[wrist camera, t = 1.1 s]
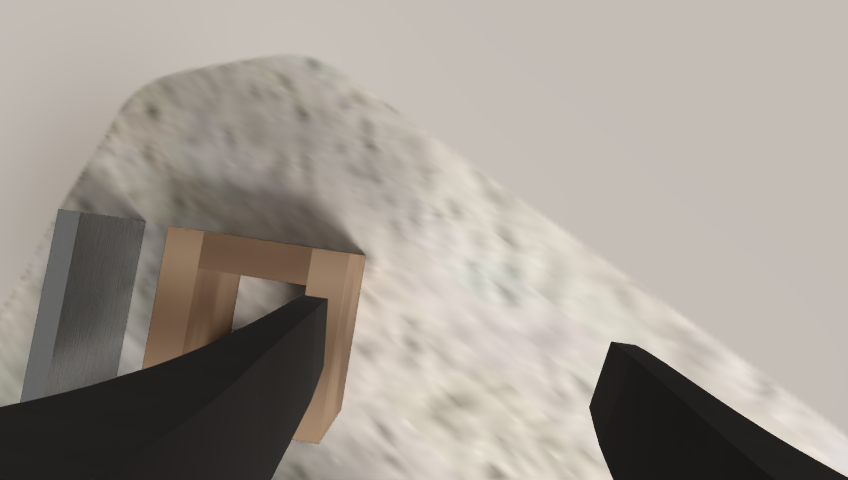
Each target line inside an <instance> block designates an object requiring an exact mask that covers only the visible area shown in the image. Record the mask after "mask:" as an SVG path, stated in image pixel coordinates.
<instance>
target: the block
mask: <svg viewBox="0 0 848 480" xmlns="http://www.w3.org/2000/svg"><path fill="white" fill-rule="evenodd" d="M365 258H366V255H359V254H353V253H346V252H340V251H333V250H327V249H320V248H314V247H308V246H301V245H295V244H288V243H282V242H275V241H269V240H262V239H256V238H249V237H243V236H236V235H230V234H223V233H217V232H209V231H202V230H195V229H187V228H180V227H172V226H168V231H167V237H166V242H165V247H164V253H163V258H162V264H161V269H160V274H159V280H158V285H157V291H156V296H155V301H154V307H153V312H152V318H151V323H150V328H149V334H148V339H147V345H146V350H145V355H144V361H143V366H142V369H146V368H149V367H152V366H154V365H157V364H160V363H163V362H165V361H168V360H171V359H173V358H176V357H179V356H181V355H184V354H186V353H189V352H191V351H194V350H196V349H198V348H201V347H203V346H205V345H208V344H210V343H212V342H214V341H216V340H218V339H220V338H222V337H224V336H226V335H229V334H230V332H231V326H232V320H233V315H234V309H235V303H236V298H237V292H238V286H239V280H240V275H244V276H250V277H256V278H263V279H269V280H275V281H281V282H288V283H294V284H300V285H307V286H306V292H305V295H307V296H314V297H320V298H327V299H328V309H327V324H326V340H325V355H324V367H323V370H322V373H321V376H320V378H319V381H318V384H317V387H316V389H315V392H314V395H313V397H312V400H311V402H310V404H309V406H308V408H307V410H306V412H305V414H304V416H303V418H302V420H301V422H300V424H299V426H298V428H297V430H296V432H295V434H294V436H293V438H292V440H298V441H304V442H309V443H315V444H319V443H320V441H321V440H322V438H323V436H324V435H325V433H326V432H327V430H328V429H329V427H330V426H331V424H332V423H333V421H334V420H335V418H336V417H337V415H338V413H339V412H340V410H341V407H342V400H343V394H344V388H345V382H346V376H347V369H348V363H349V357H350V351H351V345H352V338H353V332H354V326H355V320H356V314H357V307H358V301H359V295H360V289H361V282H362V276H363V270H364V264H365Z"/></svg>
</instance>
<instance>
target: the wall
mask: <svg viewBox="0 0 848 480" xmlns="http://www.w3.org/2000/svg"><path fill="white" fill-rule="evenodd" d="M144 227H145V221H139V220H133V219H126V218H119V217H112V216H105V215H98V214H91V213H84V212H77V211H70V210H62V209H58V214H57V220H56V225H55V230H54V235H53V240H52V245H51V250H50V255H49V260H48V265H47V270H46V275H45V280H44V285H43V290H42V295H41V300H40V305H39V310H38V315H37V320H36V325H35V330H34V335H33V340H32V345H31V350H30V355H29V360H28V365H27V370H26V375H25V380H24V385H23V390H22V395H21V400H20V403H21V402H26V401H30V400H34V399H39V398H43V397H47V396H51V395H56V394H60V393H63V392H67V391H71V390H75V389H79V388H83V387H87V386H90V385H94V384H97V383H100V382H104V381H107V380H110V379H113V378H116V375H117V370H118V365H119V359H120V354H121V349H122V344H123V338H124V333H125V328H126V322H127V317H128V312H129V306H130V301H131V296H132V290H133V285H134V280H135V274H136V269H137V264H138V259H139V253H140V248H141V243H142V237H143V232H144Z"/></svg>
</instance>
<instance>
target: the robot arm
mask: <svg viewBox="0 0 848 480" xmlns="http://www.w3.org/2000/svg"><path fill="white" fill-rule="evenodd" d="M327 309H328V299H327V298H320V297H314V296H307V295H304V296H302V297H299V298H297V299H295V300H293V301H292V302H290V303H288V304H286V305H284V306H282V307H281V308H279V309H277V310H275V311H273V312H272V313H270V314H268V315H266V316H264V317H262V318H260V319H258V320H257V321H255V322H253V323H251V324H249V325H247V326H245V327H243V328H241V329H239V330H237V331H235V332H233V333H231V334H229V335H226V336H224V337H222V338H220V339H218V340H216V341H214V342H212V343H210V344H208V345H205V346H203V347H201V348H198V349H196V350H194V351H191V352H189V353H186V354H184V355H181V356H179V357H176V358H173V359H171V360H168V361H165V362H163V363H160V364H157V365H154V366H152V367H149V368H146V369H142V370H139V371H136V372H133V373H129V374H126V375H123V376H120V377H117V378H113V379H110V380H107V381H104V382H100V383H97V384H94V385H90V386H87V387H83V388H79V389H75V390H71V391H67V392H63V393H60V394H56V395H51V396H47V397H43V398H39V399H34V400H30V401H26V402H21V403H17V404H12V405H8V406H3V407H0V480H271V478H272V476H273V475H274V473H275V471H276V469H277V467H278V465H279V463H280V461H281V459H282V457H283V455H284V453H285V451H286V449H287V447H288V446H289V444H290V442H291V440H292V438H293V436H294V434H295V432H296V430H297V428H298V426H299V424H300V422H301V420H302V418H303V416H304V414H305V412H306V410H307V408H308V406H309V404H310V402H311V400H312V397H313V395H314V392H315V389H316V387H317V384H318V381H319V378H320V376H321V373H322V370H323V367H324V355H325V340H326V324H327ZM589 408H590V412H591V416H592V420H593V424H594V428H595V432H596V435H597V439H598V442H599V446H600V448H601V451H602V453H603V456H604V458H605V461H606V463H607V466H608V468H609V470H610V473H611V475H612V478H613V480H848V477H846V476H844V475H842V474H840V473H838V472H837V471H835V470H833V469H831V468H830V467H828V466H826V465H824V464H822V463H821V462H819V461H817V460H815V459H814V458H812V457H810V456H808V455H806V454H805V453H803V452H801V451H799V450H798V449H796V448H794V447H792V446H791V445H789V444H787V443H786V442H784V441H782V440H781V439H779V438H777V437H776V436H774V435H773V434H771V433H769V432H768V431H766V430H765V429H763V428H761V427H760V426H758V425H757V424H755V423H754V422H752V421H750V420H749V419H747V418H746V417H744V416H742V415H741V414H739V413H738V412H736V411H735V410H733V409H732V408H730V407H729V406H727V405H726V404H724V403H723V402H721V401H720V400H718V399H717V398H715V397H714V396H712V395H711V394H709V393H708V392H707V391H705V390H704V389H702V388H701V387H699V386H698V385H696V384H695V383H693V382H692V381H690V380H689V379H688V378H686V377H685V376H683V375H682V374H680V373H679V372H677V371H676V370H674V369H673V368H672V367H670V366H669V365H667V364H666V363H664V362H663V361H661V360H660V359H658V358H657V357H655V356H653V355H652V354H650V353H649V352H647V351H645V350H644V349H642V348H640V347H638V346H636V345H631V344H624V343H617V342H611V344H610V347H609V350H608V353H607V356H606V359H605V362H604V365H603V368H602V371H601V374H600V376H599V379H598V382H597V385H596V388H595V391H594V394H593V397H592V400H591V403H590V406H589Z"/></svg>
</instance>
